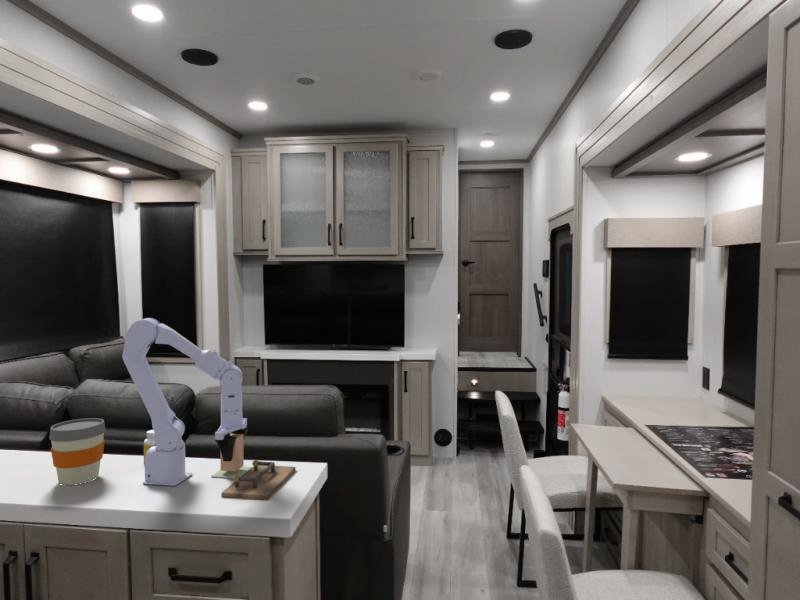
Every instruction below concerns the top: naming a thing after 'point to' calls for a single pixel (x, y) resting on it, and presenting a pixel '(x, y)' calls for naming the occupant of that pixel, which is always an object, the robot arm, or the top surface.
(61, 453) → the reusable coffee cup
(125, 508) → the top surface
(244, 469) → the mat
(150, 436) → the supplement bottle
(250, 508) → the top surface
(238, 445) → the terracotta block
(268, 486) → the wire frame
